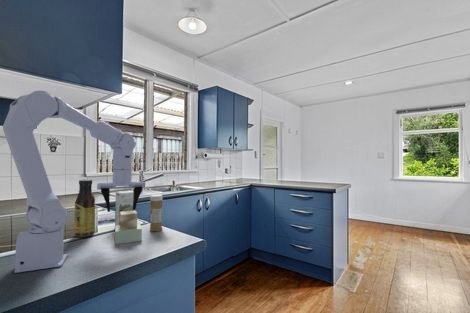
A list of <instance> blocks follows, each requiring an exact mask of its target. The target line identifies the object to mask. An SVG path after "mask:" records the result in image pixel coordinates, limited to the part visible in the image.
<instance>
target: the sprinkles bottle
mask: <svg viewBox="0 0 470 313" xmlns="http://www.w3.org/2000/svg"><path fill="white" fill-rule="evenodd" d="M163 197H164V196H163V195H162V194H152V195H150V196H149V200H150V211H149V212H150V213H149V217H150V218H149V221H150V222H149V223H150V225H149V227H150V228H149V231H150V232H160V231H162V230H163V227H162V225H163V200H164V198H163Z"/></svg>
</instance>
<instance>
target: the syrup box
mask: <svg viewBox="0 0 470 313" xmlns="http://www.w3.org/2000/svg"><path fill="white" fill-rule="evenodd" d="M114 207H115V209H114V211H115V215H114V216H115V217H114V228H116V225H120V212H124V211H135V210H133V190H132V189H131V190H121V191H120V190H119V191H115V206H114Z"/></svg>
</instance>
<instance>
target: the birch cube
mask: <svg viewBox="0 0 470 313" xmlns="http://www.w3.org/2000/svg"><path fill="white" fill-rule="evenodd" d="M137 223H138V212H137V210H134V211H124V212H120V228H121V230H125V229H134V228H137Z"/></svg>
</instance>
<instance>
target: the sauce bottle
mask: <svg viewBox="0 0 470 313" xmlns="http://www.w3.org/2000/svg"><path fill="white" fill-rule="evenodd" d="M78 184H79V185H78V186H79V188H78V189H79V190H78V194H77V197H76V199H75V201H74V224H73V225H74V228H73V230H74V231H73V232H74V236H75V237H76V238H88V237H90V236H93V235H94V234H95V228H96V227H95V226H96V224H95V223H96V196H94V194H93V191H92V185H93V180H92V179H88V178H87V179H86V178H85V179H79V180H78Z"/></svg>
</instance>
